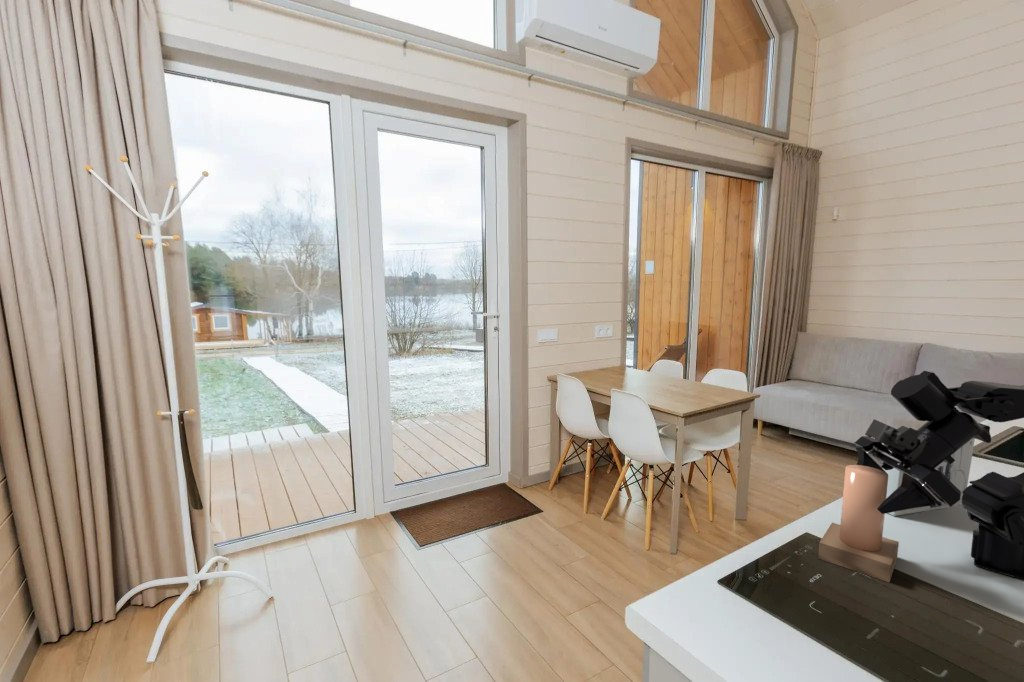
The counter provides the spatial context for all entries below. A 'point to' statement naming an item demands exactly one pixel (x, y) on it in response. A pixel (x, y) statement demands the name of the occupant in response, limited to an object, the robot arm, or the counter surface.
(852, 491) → the canister
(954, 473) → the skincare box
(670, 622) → the counter surface
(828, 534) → the podium
